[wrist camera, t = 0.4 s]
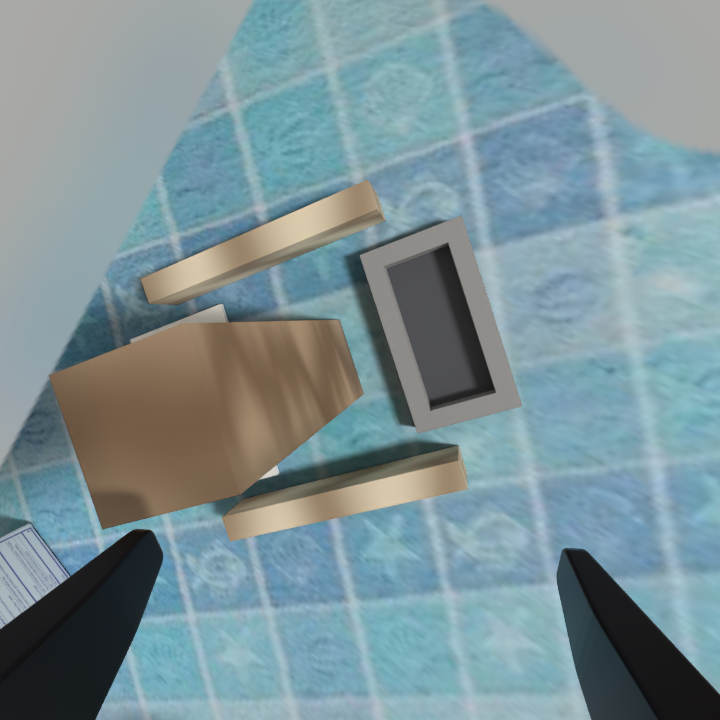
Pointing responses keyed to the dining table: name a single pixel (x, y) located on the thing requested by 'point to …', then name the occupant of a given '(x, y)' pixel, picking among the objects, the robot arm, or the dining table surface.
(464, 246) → the tray
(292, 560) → the dining table surface
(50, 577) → the medicine box
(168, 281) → the channel
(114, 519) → the walnut block
